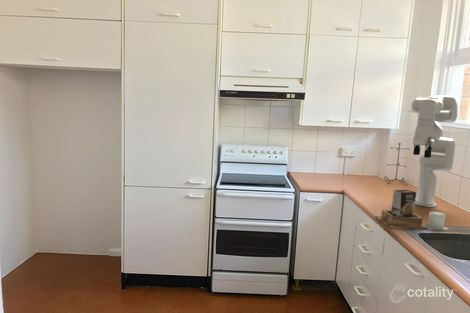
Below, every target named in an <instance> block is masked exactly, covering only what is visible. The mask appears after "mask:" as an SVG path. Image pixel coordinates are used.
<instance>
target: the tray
mask: <svg viewBox="0 0 470 313" xmlns="http://www.w3.org/2000/svg"><path fill="white" fill-rule="evenodd" d="M375 219H377V220H378V221H379V222H380V223H382V224H383V225H384V226H386V227H388V228H389V229H393V230H394V229H395V230H396V229H398V230H429V226H428V225H427V226H426V225H425V224H424V223H423V217H421V216H420V215H417V214H416V213H414V214H413V217H394V216H393V215H391V209H389V210H387V209H383V210H382V211H381V215H376V216H375Z"/></svg>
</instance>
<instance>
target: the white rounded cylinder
mask: <svg viewBox="0 0 470 313" xmlns="http://www.w3.org/2000/svg"><path fill="white" fill-rule="evenodd" d="M428 212H429V214H428V220H427V227H429V226H430V227H429V228H431V227H432V228H431V229H434V230H444V229H445V221H446V214H445V213H443V212H439V211H428ZM443 228H444V229H443Z"/></svg>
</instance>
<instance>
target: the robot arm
mask: <svg viewBox="0 0 470 313" xmlns="http://www.w3.org/2000/svg"><path fill="white" fill-rule="evenodd" d="M458 108H459V107H458V100H457V97H456V96H454V95H434V96H427V97H417V98H415V99H414V100H412V103H411V110H412V112H413V113H415V114H417V124H416V127H415V131H414V135H413V138H412V140H413V143H412V144H413V155H414V156H419V155H420V154H421V146H424V152H423V154H422V155H420V157H419V175H418V184H417V192H416V198H415V205H417V206H421V207H427V208H435V207H436V206H437V203H436V202H435V195H436V187H437V186H436V185H437V179H438V178H437V175H436V173H435V172H434V171H437V172H445V173H446V172H447V173H448V172H450V171H451V170H452V169H453V165H454V157H455V151H456V150H455V149H456V142H455V140H454V139H453V138H450V137H449V138H448V137H443V134H444V133H443V132H444V130H443V128H442V126H441V125H440V124H439V123H454V122H456V121H457V118H458Z"/></svg>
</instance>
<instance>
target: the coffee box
mask: <svg viewBox="0 0 470 313" xmlns="http://www.w3.org/2000/svg"><path fill="white" fill-rule="evenodd" d="M416 196H417V192H416V191H414V190H413V191H412V190H409V189H395V190H393V194H392V201H391V209H390V210H391V215H393V216H394V217H413V214H415V205H416V204H415V200H416Z"/></svg>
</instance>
